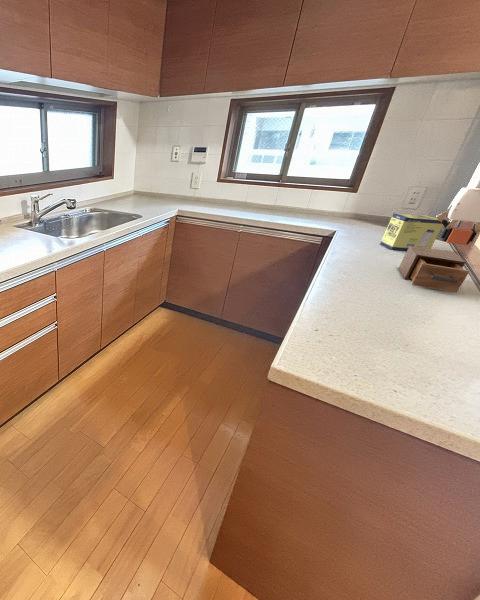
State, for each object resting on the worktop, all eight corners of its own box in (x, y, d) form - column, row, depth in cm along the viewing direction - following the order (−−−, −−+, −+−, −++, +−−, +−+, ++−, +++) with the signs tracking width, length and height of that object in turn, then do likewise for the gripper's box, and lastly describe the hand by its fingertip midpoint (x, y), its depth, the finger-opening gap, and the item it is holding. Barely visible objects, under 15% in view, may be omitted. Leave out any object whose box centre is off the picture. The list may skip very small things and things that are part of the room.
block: (461, 242, 109) (469, 228, 107) (465, 245, 106) (473, 231, 104) (443, 239, 111) (450, 226, 109) (446, 242, 108) (453, 229, 106)
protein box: (378, 243, 165) (392, 213, 158) (415, 246, 162) (431, 215, 155) (390, 249, 156) (405, 217, 149) (429, 253, 153) (446, 220, 146)
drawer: (461, 297, 106) (474, 275, 102) (414, 289, 111) (425, 267, 108) (446, 280, 119) (457, 260, 116) (405, 273, 125) (415, 254, 121)
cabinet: (450, 287, 116) (465, 262, 111) (404, 279, 122) (416, 254, 118) (440, 275, 126) (454, 251, 122) (398, 268, 133) (409, 245, 129)
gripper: (522, 186, 99) (486, 244, 107) (445, 181, 107) (418, 235, 115) (533, 188, 93) (495, 249, 101) (451, 183, 102) (422, 239, 110)
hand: (454, 241), depth 108 cm, fingers closed on block, 4 cm apart
